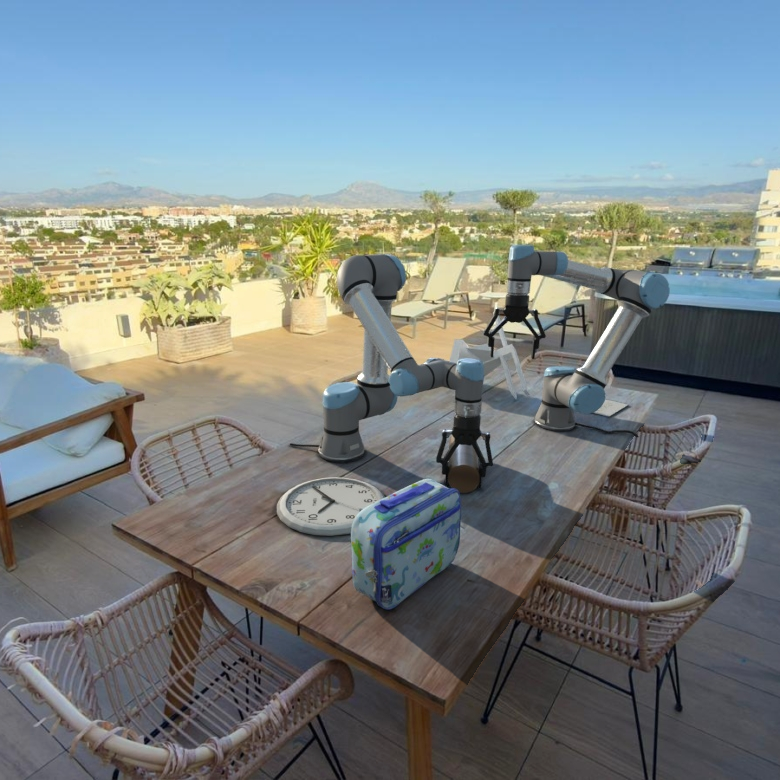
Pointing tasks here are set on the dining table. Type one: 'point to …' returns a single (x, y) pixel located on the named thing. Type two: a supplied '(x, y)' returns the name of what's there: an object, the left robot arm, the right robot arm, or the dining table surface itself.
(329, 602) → the dining table surface
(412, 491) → the lunch box
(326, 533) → the wall clock
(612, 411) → the invitation card
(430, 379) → the left robot arm
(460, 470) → the rod
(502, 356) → the white plastic object
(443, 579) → the dining table surface
